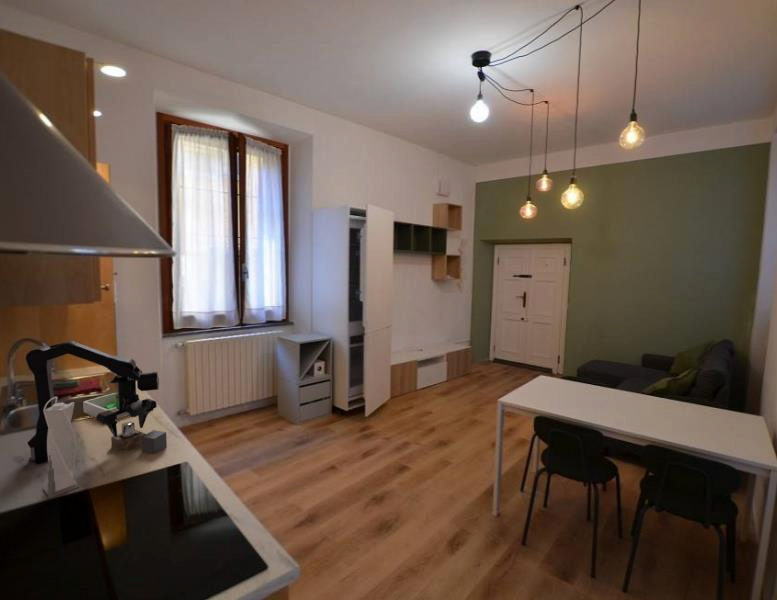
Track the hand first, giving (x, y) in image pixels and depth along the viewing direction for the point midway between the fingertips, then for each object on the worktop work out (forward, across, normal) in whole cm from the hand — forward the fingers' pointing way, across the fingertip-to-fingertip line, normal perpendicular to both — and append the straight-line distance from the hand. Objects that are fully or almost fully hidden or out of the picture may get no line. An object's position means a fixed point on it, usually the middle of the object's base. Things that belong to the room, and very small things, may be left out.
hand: (128, 432), depth 146 cm
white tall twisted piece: (+5, -25, -10) cm, 27 cm away
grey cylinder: (+5, 0, 0) cm, 5 cm away
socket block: (+5, 0, 0) cm, 5 cm away
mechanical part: (+6, +16, +38) cm, 41 cm away
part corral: (+5, +14, +39) cm, 42 cm away
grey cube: (+5, +3, -11) cm, 13 cm away
